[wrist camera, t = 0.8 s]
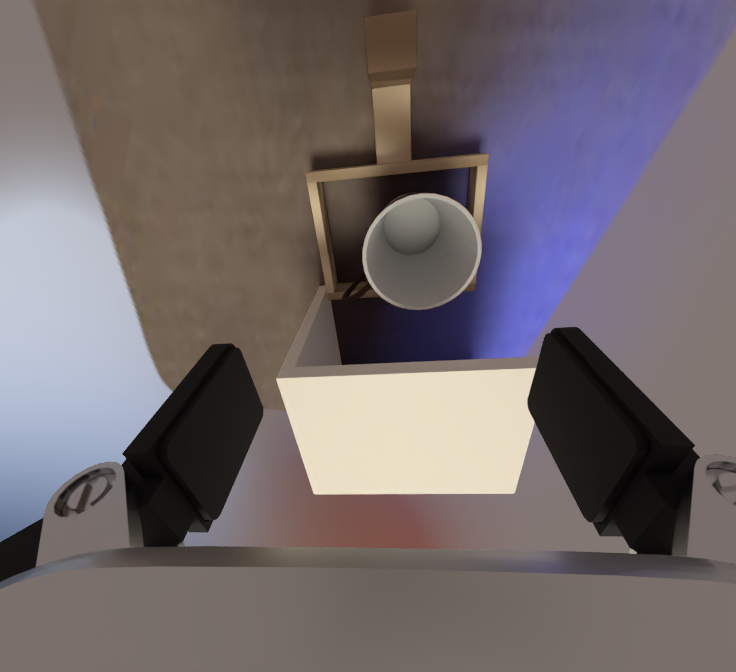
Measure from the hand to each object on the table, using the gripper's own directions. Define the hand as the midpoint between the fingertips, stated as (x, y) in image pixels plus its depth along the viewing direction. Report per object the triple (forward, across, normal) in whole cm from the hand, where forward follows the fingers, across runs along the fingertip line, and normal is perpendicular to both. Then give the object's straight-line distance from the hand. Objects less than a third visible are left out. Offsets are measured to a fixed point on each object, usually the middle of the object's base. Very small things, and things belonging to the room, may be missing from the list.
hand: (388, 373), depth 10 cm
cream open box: (+24, -1, +14) cm, 28 cm away
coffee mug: (+25, -1, +2) cm, 25 cm away
